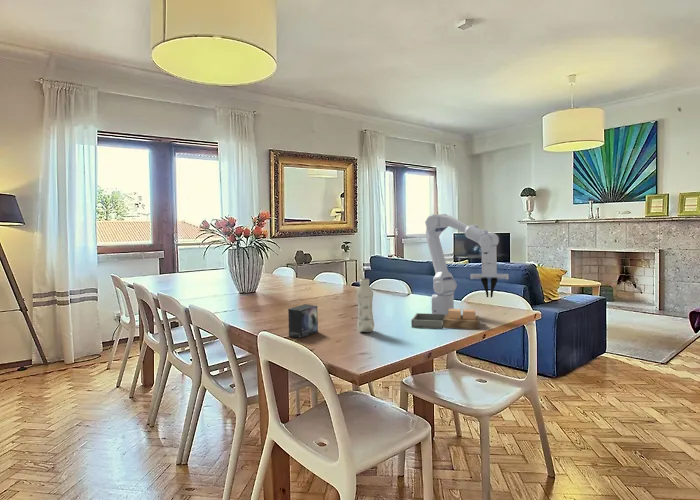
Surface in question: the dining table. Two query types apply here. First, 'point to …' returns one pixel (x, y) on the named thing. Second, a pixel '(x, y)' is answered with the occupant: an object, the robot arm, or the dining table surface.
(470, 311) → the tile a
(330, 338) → the dining table surface
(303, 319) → the small box
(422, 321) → the tray
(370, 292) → the plastic bottle
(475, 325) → the board
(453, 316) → the tan square block
